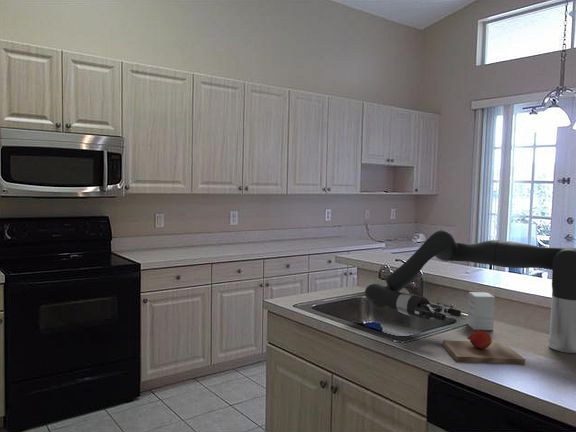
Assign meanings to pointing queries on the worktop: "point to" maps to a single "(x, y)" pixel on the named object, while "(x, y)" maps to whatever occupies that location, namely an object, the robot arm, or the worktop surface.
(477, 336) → the onion
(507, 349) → the cutting board
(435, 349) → the worktop surface
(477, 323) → the supplement box
